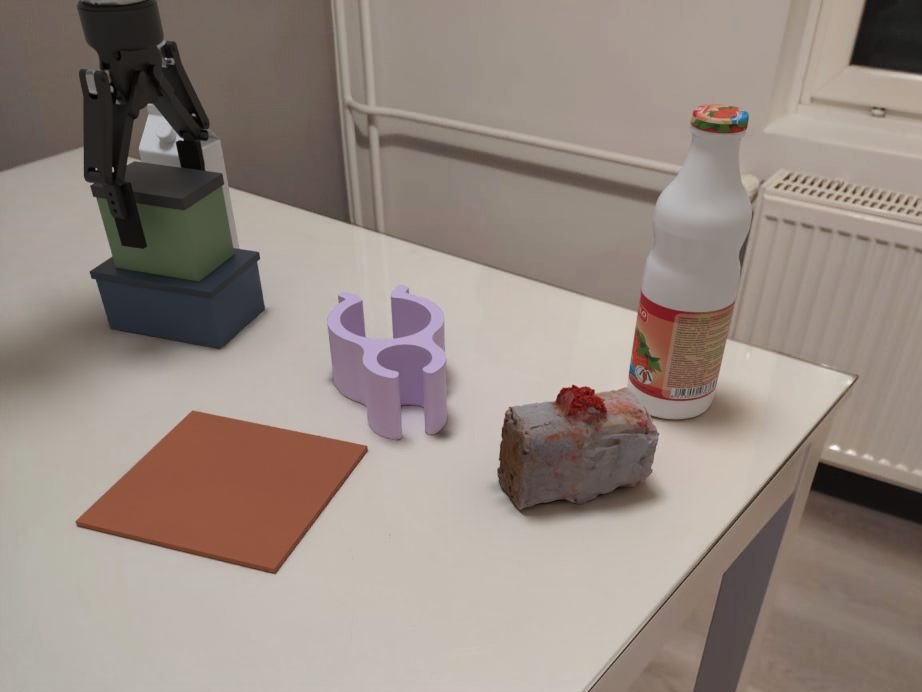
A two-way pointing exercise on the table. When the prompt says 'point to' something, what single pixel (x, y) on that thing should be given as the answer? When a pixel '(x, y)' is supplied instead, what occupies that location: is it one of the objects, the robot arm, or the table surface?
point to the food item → (575, 446)
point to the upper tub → (173, 221)
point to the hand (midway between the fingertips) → (168, 223)
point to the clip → (391, 361)
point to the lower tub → (183, 301)
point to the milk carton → (163, 151)
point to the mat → (226, 490)
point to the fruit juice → (692, 271)
